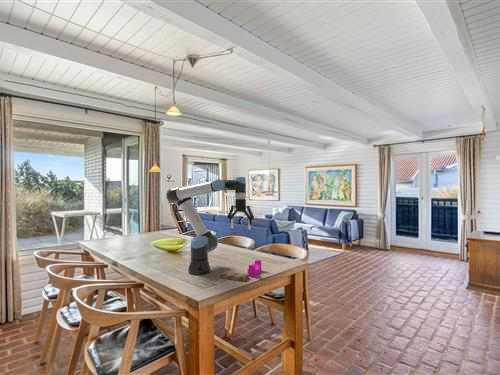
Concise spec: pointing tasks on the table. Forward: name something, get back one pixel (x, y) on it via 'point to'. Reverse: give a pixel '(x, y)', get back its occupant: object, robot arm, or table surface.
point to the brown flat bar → (234, 276)
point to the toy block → (254, 268)
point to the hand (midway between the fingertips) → (240, 228)
